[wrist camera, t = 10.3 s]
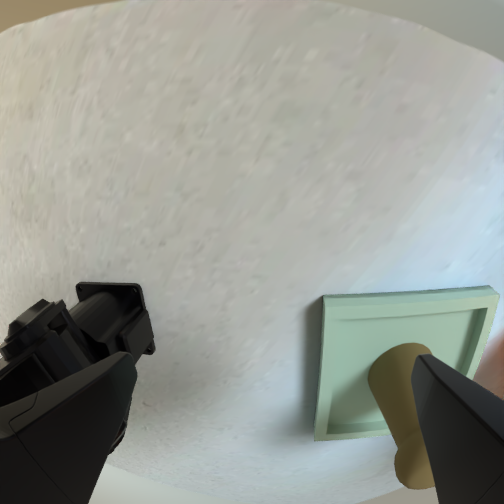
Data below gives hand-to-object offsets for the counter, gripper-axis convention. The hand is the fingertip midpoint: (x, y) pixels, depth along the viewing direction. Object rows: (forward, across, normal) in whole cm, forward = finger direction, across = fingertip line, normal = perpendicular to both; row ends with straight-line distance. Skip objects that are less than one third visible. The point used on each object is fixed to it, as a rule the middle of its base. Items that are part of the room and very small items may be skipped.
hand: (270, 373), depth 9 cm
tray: (+13, -10, +11) cm, 20 cm away
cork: (+13, -10, +11) cm, 19 cm away
